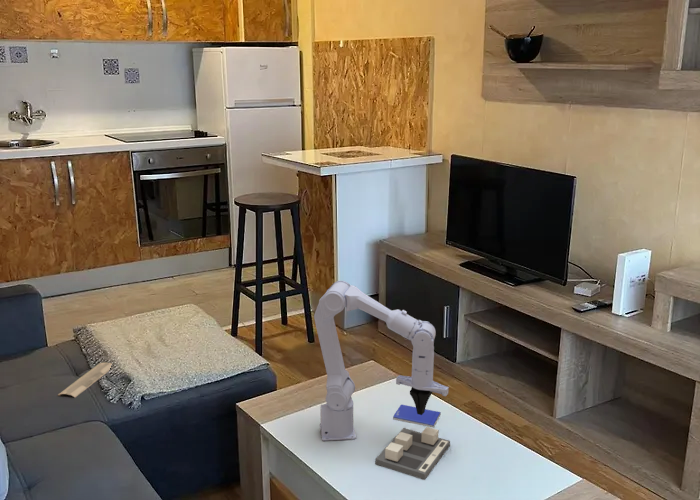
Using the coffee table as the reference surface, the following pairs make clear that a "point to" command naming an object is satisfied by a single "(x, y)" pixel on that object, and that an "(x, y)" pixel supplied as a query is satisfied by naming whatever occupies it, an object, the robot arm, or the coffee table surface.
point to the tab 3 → (430, 435)
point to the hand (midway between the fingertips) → (420, 412)
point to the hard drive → (416, 416)
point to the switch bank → (416, 456)
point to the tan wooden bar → (87, 379)
